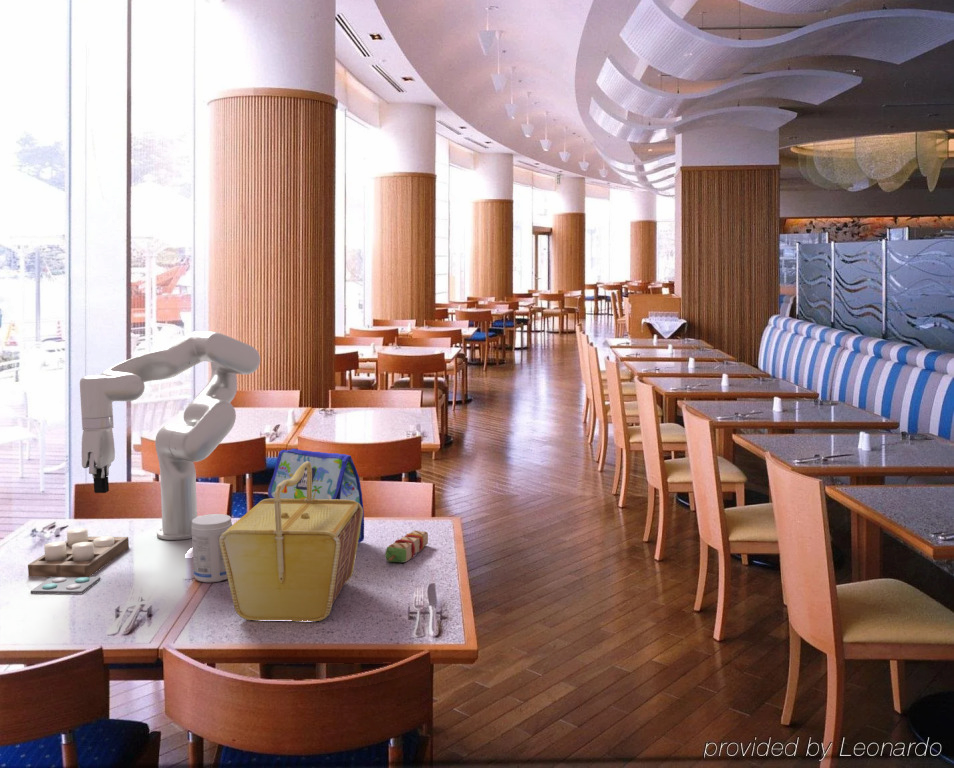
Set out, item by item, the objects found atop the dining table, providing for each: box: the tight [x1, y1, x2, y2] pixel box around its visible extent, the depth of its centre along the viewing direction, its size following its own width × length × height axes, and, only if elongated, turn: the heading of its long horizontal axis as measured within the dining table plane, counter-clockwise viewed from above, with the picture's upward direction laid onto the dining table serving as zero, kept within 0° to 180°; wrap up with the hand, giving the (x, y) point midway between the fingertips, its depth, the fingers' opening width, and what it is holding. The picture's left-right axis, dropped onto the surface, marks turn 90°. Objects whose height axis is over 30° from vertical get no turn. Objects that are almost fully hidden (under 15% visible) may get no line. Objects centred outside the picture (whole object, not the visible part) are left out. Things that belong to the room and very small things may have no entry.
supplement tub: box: [191, 513, 233, 583], centre depth 223 cm, size 10×10×15 cm
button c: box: [72, 542, 94, 561], centre depth 229 cm, size 5×5×4 cm
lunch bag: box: [267, 448, 365, 544], centre depth 248 cm, size 22×17×26 cm
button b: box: [66, 527, 89, 547], centre depth 241 cm, size 5×5×4 cm
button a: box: [94, 535, 115, 547], centre depth 241 cm, size 5×5×4 cm
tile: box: [30, 576, 102, 594], centre depth 217 cm, size 12×10×1 cm
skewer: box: [384, 530, 429, 563], centre depth 240 cm, size 21×6×5 cm, turn 161°
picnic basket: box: [219, 461, 364, 622], centre depth 205 cm, size 29×26×30 cm
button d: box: [43, 541, 67, 561], centre depth 229 cm, size 5×5×4 cm
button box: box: [27, 536, 130, 578], centre depth 235 cm, size 15×24×3 cm, turn 179°
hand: (101, 492), depth 239 cm, fingers closed
